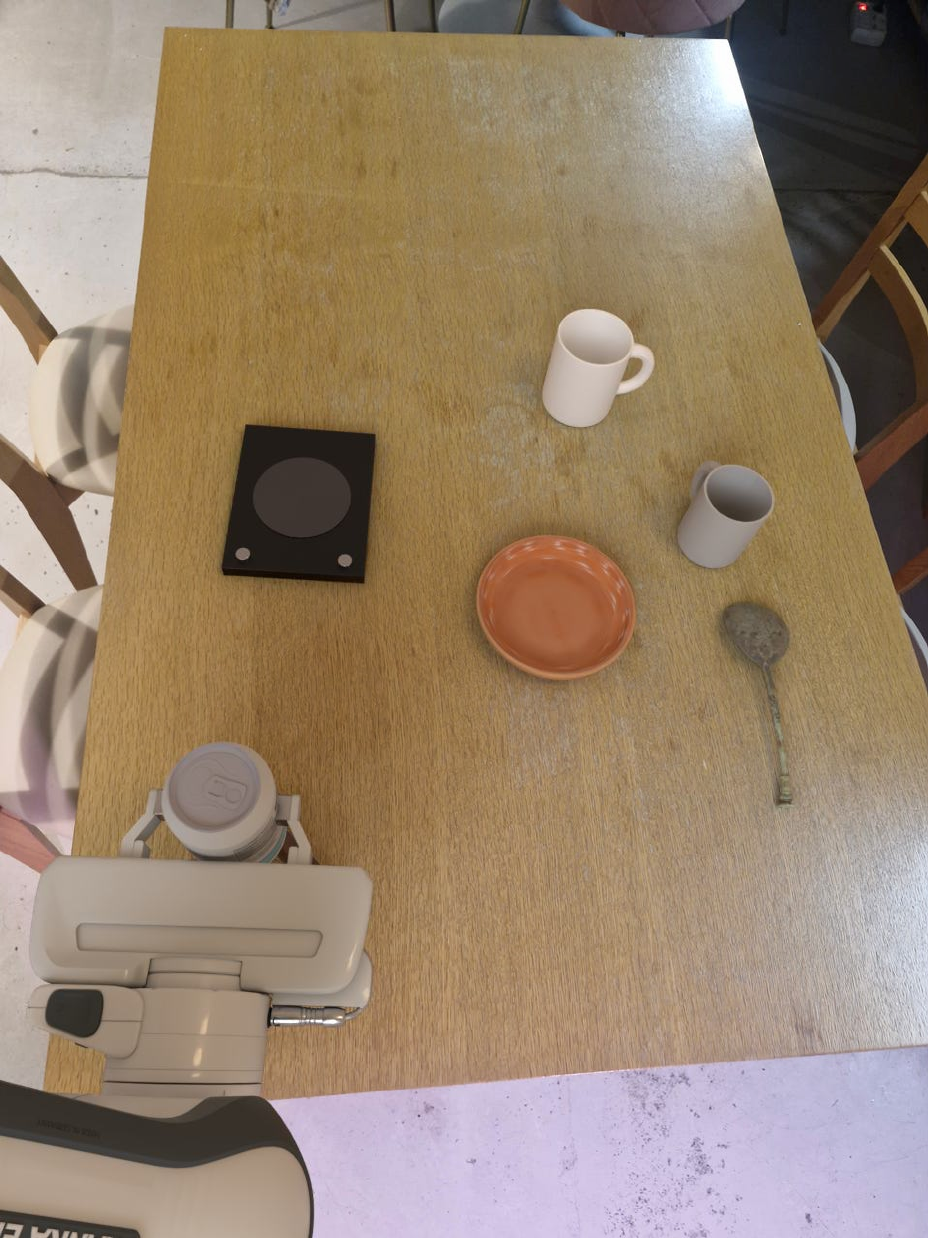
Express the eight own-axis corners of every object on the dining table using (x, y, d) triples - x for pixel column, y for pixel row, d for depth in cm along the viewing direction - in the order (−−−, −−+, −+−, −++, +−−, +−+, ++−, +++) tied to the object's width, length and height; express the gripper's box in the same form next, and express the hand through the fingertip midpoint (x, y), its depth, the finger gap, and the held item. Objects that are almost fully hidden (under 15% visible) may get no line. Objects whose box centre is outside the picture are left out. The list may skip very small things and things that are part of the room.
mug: (633, 374, 102) (658, 308, 93) (646, 429, 99) (675, 365, 90) (535, 375, 101) (552, 308, 92) (546, 430, 97) (564, 366, 88)
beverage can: (220, 772, 64) (191, 716, 54) (304, 807, 64) (291, 757, 53) (173, 858, 61) (132, 816, 50) (261, 896, 60) (238, 861, 50)
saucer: (444, 586, 87) (446, 571, 84) (572, 526, 91) (578, 510, 89) (528, 716, 81) (533, 705, 78) (659, 645, 86) (668, 632, 83)
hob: (364, 583, 86) (364, 573, 84) (223, 575, 85) (220, 564, 83) (375, 442, 94) (375, 429, 92) (247, 432, 93) (244, 420, 91)
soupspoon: (775, 607, 90) (714, 606, 90) (787, 591, 87) (724, 589, 87) (816, 811, 79) (747, 810, 79) (832, 800, 76) (760, 799, 76)
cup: (690, 576, 90) (721, 530, 82) (655, 500, 94) (681, 449, 86) (751, 563, 92) (787, 516, 84) (713, 488, 96) (744, 437, 88)
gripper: (370, 1027, 48) (385, 787, 54) (-6, 1018, 46) (54, 772, 53) (369, 1030, 54) (383, 812, 60) (33, 1022, 52) (84, 799, 58)
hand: (227, 793), depth 56 cm, fingers closed on beverage can, 7 cm apart
